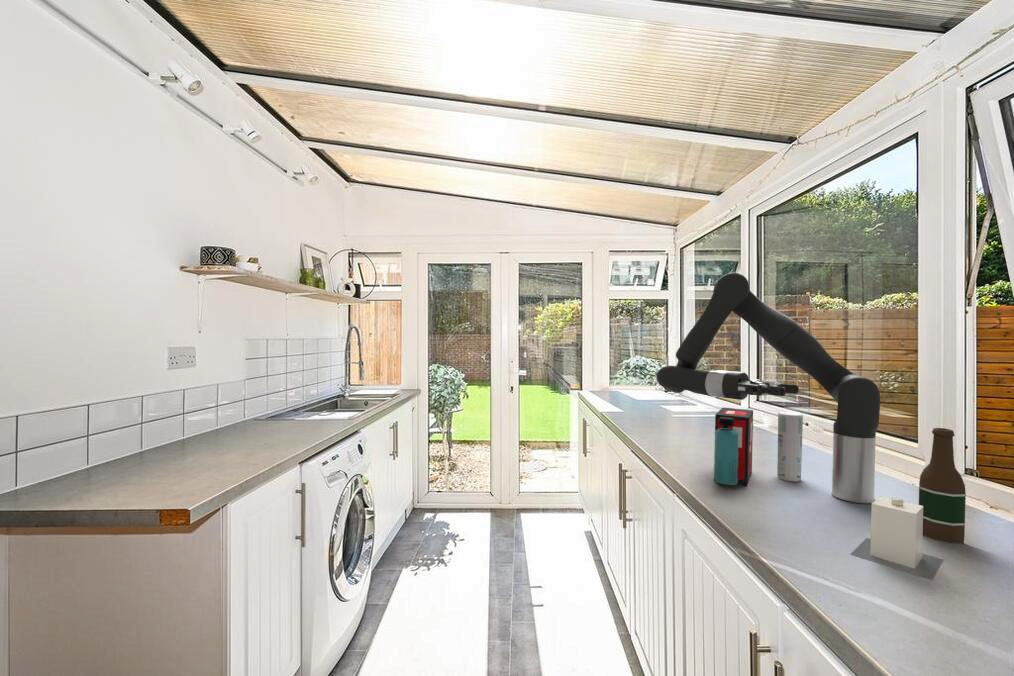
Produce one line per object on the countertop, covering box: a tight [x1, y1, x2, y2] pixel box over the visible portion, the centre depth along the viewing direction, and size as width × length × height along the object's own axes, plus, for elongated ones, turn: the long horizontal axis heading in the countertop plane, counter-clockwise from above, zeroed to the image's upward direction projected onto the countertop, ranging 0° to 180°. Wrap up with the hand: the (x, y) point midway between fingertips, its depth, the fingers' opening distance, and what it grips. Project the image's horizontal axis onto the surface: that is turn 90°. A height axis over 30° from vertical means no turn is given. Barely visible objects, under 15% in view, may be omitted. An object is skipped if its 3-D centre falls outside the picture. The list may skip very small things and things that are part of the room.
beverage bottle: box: [713, 417, 739, 486], centre depth 133 cm, size 6×7×20 cm
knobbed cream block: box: [870, 495, 924, 569], centre depth 90 cm, size 7×7×11 cm
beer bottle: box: [918, 427, 967, 545], centre depth 100 cm, size 8×8×24 cm
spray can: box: [776, 411, 804, 482], centre depth 142 cm, size 6×6×20 cm
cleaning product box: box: [713, 407, 754, 487], centre depth 143 cm, size 16×9×20 cm, turn 148°
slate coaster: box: [849, 537, 944, 581], centre depth 90 cm, size 12×12×1 cm
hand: (791, 390), depth 116 cm, fingers open, 8 cm apart
